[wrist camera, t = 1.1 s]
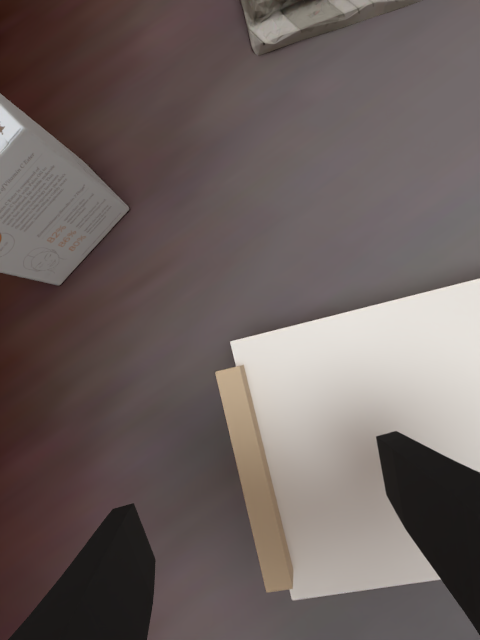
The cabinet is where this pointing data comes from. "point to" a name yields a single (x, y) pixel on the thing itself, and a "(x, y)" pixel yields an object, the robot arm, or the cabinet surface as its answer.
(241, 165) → the cabinet surface
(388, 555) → the lid
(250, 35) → the packaged product
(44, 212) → the small box
